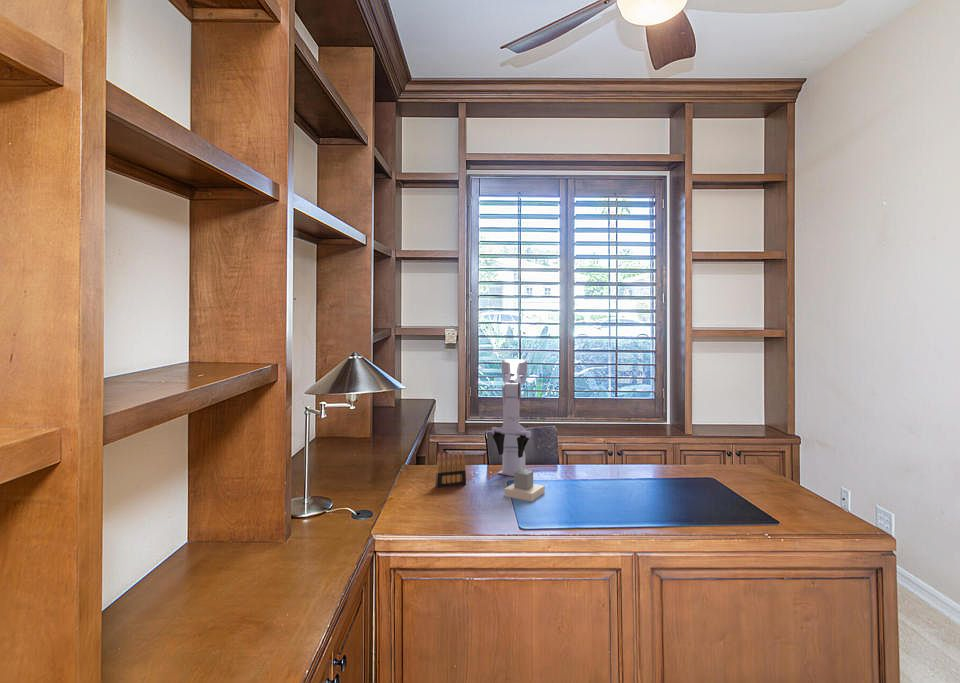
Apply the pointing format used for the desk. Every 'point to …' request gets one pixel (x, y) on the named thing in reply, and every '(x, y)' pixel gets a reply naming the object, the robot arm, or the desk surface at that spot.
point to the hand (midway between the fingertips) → (510, 455)
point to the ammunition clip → (450, 470)
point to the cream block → (524, 492)
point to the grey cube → (523, 479)
